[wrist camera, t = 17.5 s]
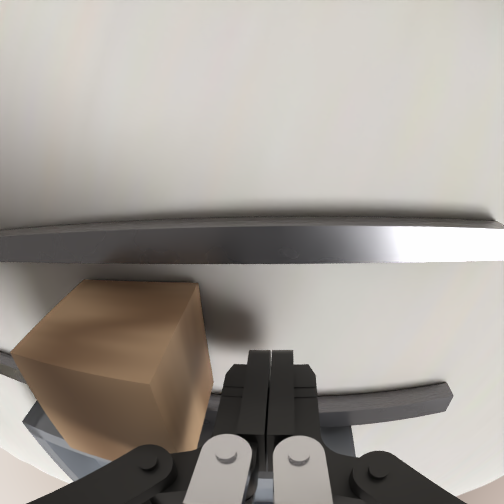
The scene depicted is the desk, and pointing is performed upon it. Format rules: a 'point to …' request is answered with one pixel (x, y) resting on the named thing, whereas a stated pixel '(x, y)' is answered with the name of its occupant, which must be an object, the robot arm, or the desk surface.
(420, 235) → the slide rails
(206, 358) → the slider
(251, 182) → the desk surface
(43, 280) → the desk surface
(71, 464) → the tray
